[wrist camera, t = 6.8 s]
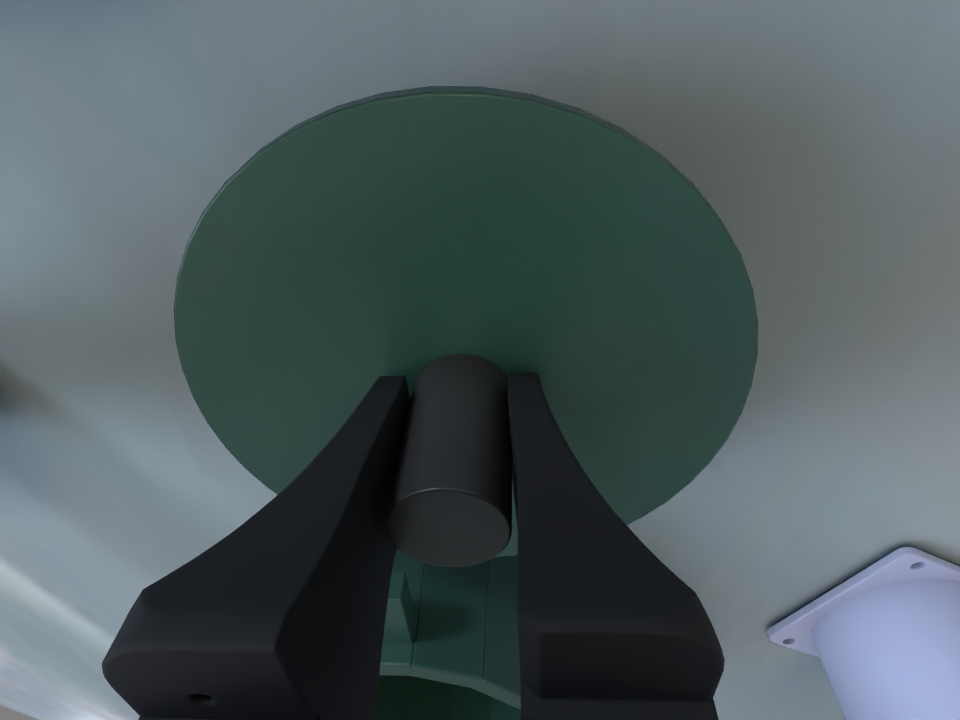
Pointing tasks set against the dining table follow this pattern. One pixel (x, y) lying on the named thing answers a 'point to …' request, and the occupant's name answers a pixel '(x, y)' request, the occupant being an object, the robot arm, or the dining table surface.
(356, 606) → the robot arm
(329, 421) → the lid
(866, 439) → the dining table surface
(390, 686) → the pot
